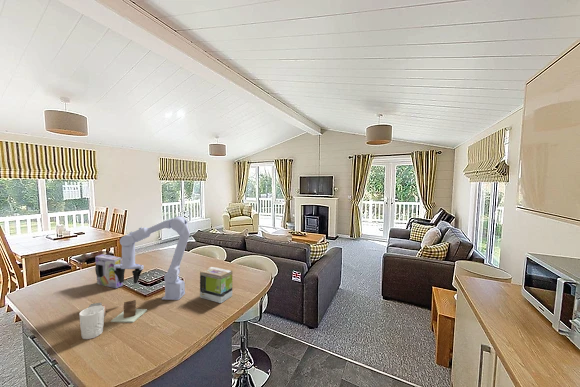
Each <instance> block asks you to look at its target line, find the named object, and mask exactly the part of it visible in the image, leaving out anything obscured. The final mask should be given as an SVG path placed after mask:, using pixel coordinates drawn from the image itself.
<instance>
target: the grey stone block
mask: <svg viewBox="0 0 580 387" xmlns="http://www.w3.org/2000/svg"><path fill="white" fill-rule="evenodd" d="M93 306H102V302H95V303H90V305H89V306H88V307H87V308H89V307H93Z"/></svg>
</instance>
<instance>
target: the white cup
mask: <svg viewBox="0 0 580 387" xmlns="http://www.w3.org/2000/svg"><path fill="white" fill-rule="evenodd" d="M104 306H105V305H104ZM104 306H93V307H89V306H88V307H89V308H88V307H87V308H84V309H82V310H81V311H80V312H79V313H78V315H79V316H78V317H79V326H80V334H81V336H80V337H81V338H82V339H83V340H90V339H94V338H97V337H99V336H100V335H101V334H103V332H104V325H105V324H104V322H105V317H104Z"/></svg>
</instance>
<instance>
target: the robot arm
mask: <svg viewBox="0 0 580 387" xmlns="http://www.w3.org/2000/svg"><path fill="white" fill-rule="evenodd" d="M163 229H172V230H173V231H175V232H176V233H177V234H178V236H179V237H178V241H177V243H176V244H177V245H176V247H175V251H174V253H173V257H172V259H171V262H170V265H169V267H168V270H167V272H165V274H164V276H163V279H164V296H162V298H161V300H165V301H168V300H173V301H179V300H180V299H182V297H184V295H186V284H185V283H186V282H185V280H182V279H181V278H180V276H179V275H180V273H181V263H182V260H183V257H184V253H185V250H186V248H187V244H188V241H189V238H190V235H191V233H190V232H191V231H190V229H189V225H188V221H187V220H186V219H185V217H183V216H182V215H178V216H175V217H171V218H169V219H166V220H163V221H161V222H158V223H156V224H153V225H152V226H150V227H146V226H144V227H142V226H141V227H139V228H138V229H136V230H135V231H130V232H129V233H127V234H124V235H123V236H121V237H120V239H119V244H120V245H121V258H122V264H116V265H114V269H116V270H115V271H114V273H115V274H116V275H117V277H118V279H119V282H120V283H122V282H123V283H124V282H125V272H126V270H132V271H131V273H132V276H133V284H135V285H136V284H137V283H138V282H139V278H140V276H141V274H142V272H143V270H144V269H145V268H144V264H139V263H136V243H138V242H141V241H143V240H145V239H147V238H149V237H150V236H151V234H154V233H156V232H158V231H160V230H163Z"/></svg>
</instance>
